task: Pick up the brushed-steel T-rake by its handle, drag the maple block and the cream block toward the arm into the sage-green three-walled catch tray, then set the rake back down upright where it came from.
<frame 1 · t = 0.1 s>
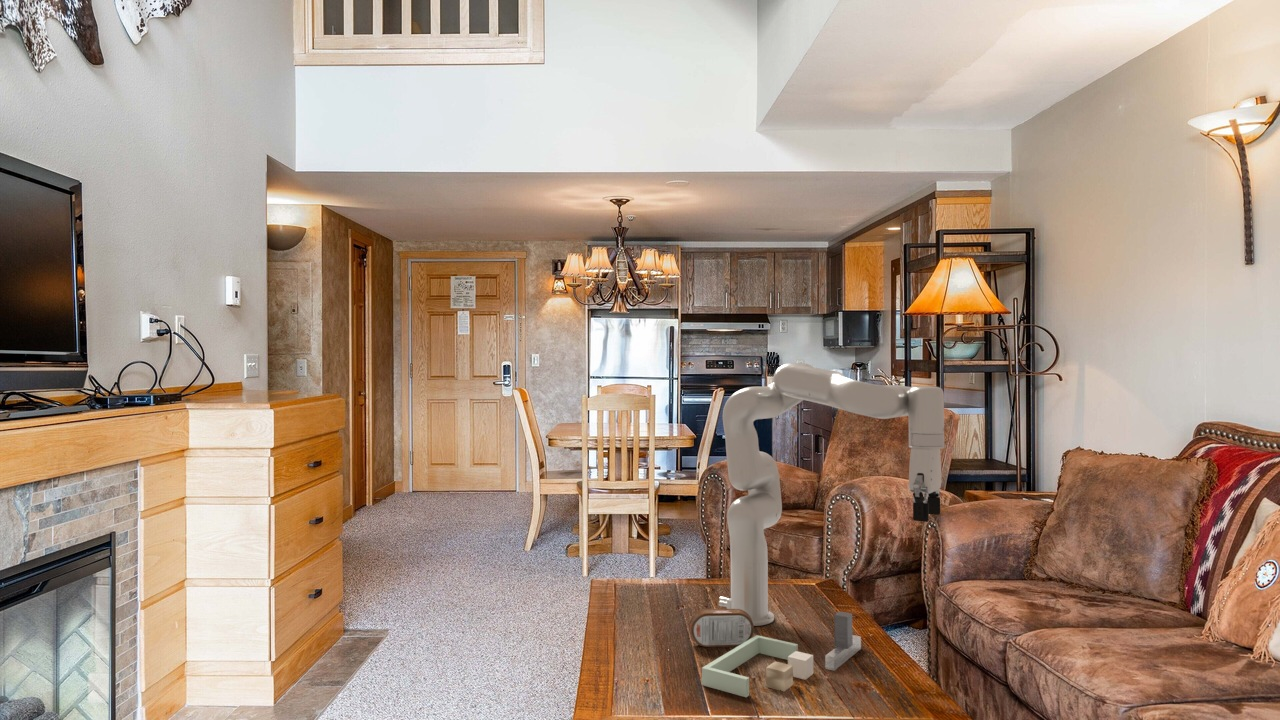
hand: (927, 517, 173), 31 cm above the table, fingers open, 9 cm apart
tin: (721, 646, 180), on the table
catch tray: (755, 673, 164), on the table
rake: (843, 659, 172), on the table
maple block: (779, 686, 157), on the table
cream block: (800, 674, 163), on the table
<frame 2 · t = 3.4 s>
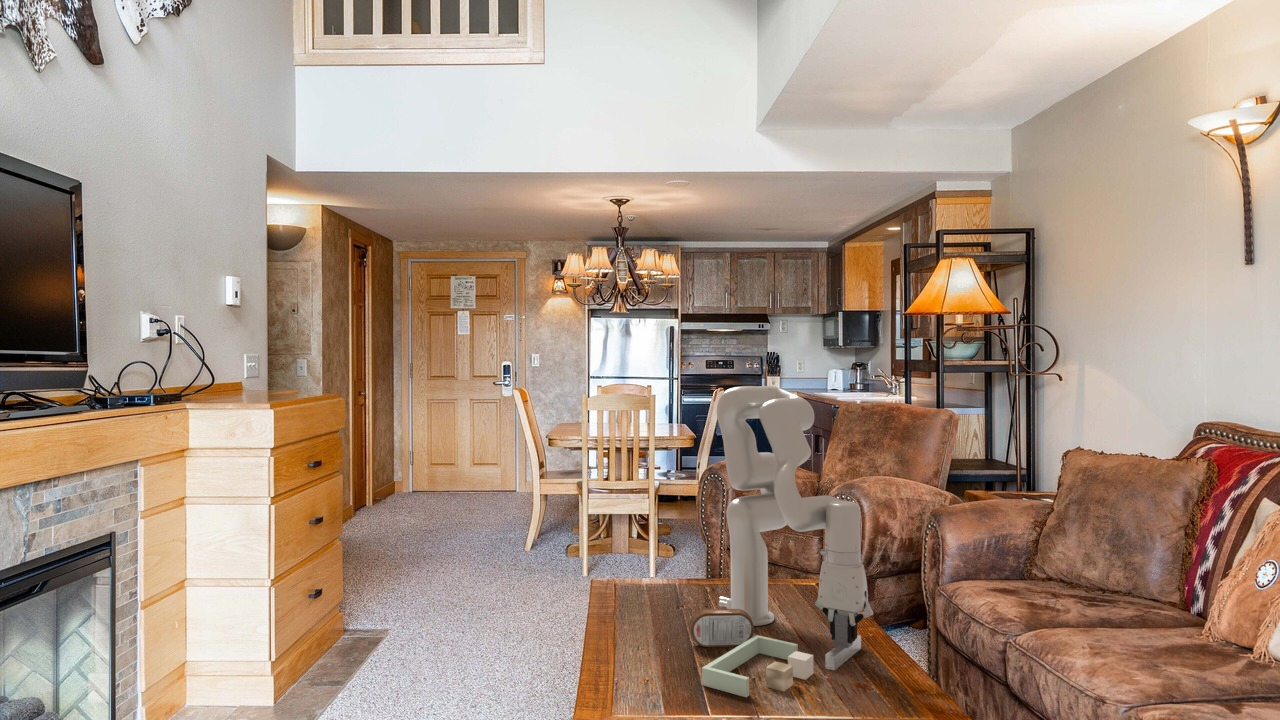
hand: (843, 639, 172), 4 cm above the table, fingers closed on rake, 3 cm apart
rake: (843, 658, 172), on the table, touching gripper
everything else where it was.
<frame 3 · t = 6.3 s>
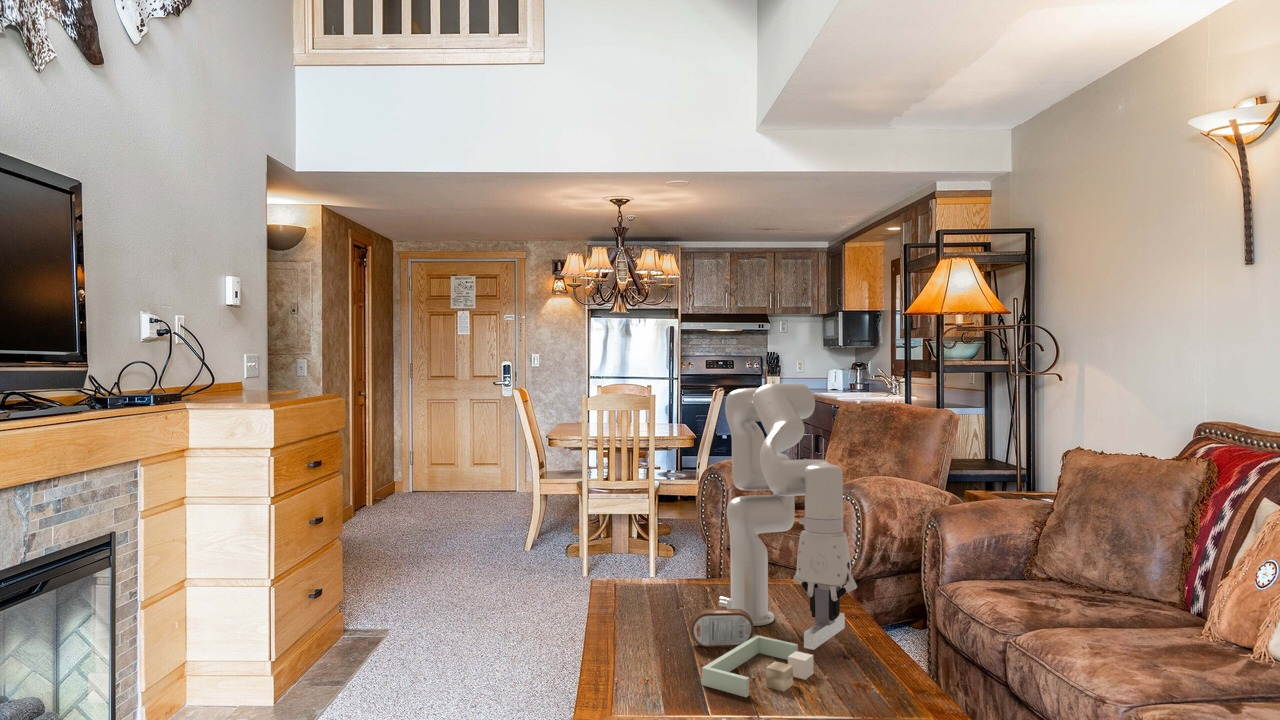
hand: (824, 616, 156), 15 cm above the table, fingers closed on rake, 3 cm apart
rake: (825, 637, 156), point 10 cm above the table, touching gripper
everything else where it was.
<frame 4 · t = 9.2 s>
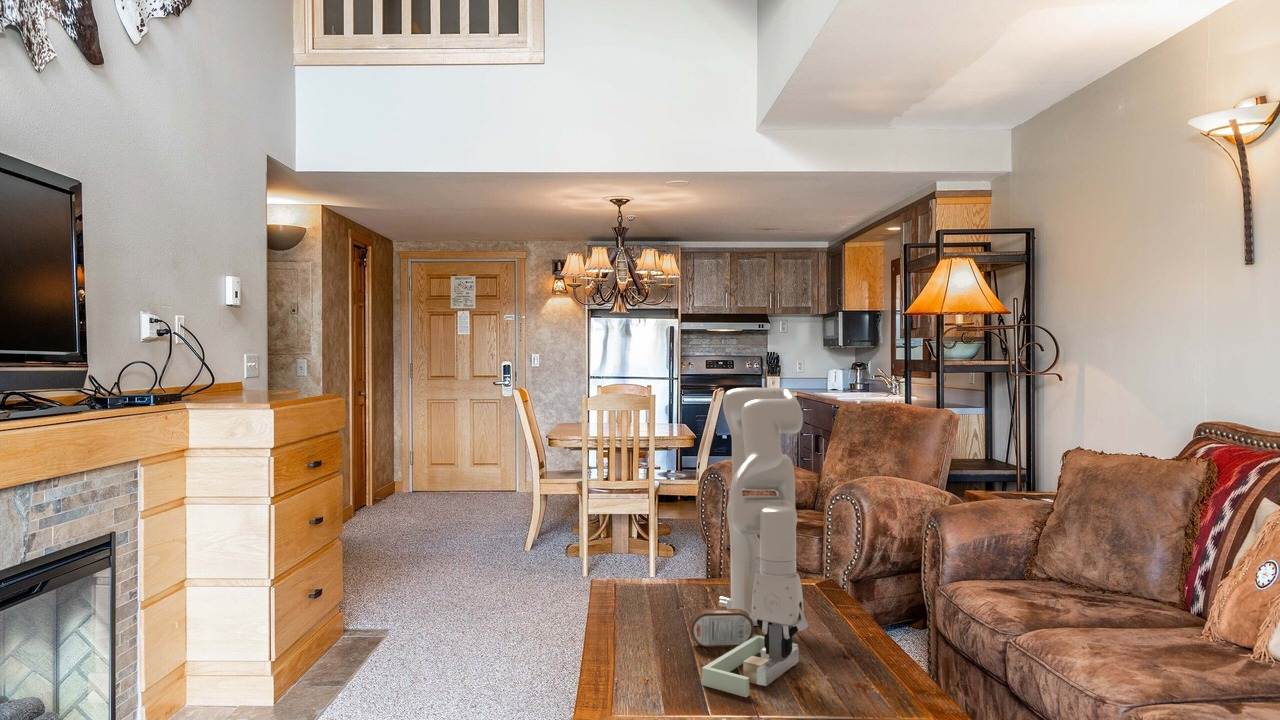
hand: (778, 653, 162), 5 cm above the table, fingers closed on rake, 3 cm apart
rake: (778, 672, 162), point 1 cm above the table, touching gripper, maple block
maple block: (756, 679, 160), on the table, touching rake
cream block: (773, 667, 167), on the table
everything else where it was.
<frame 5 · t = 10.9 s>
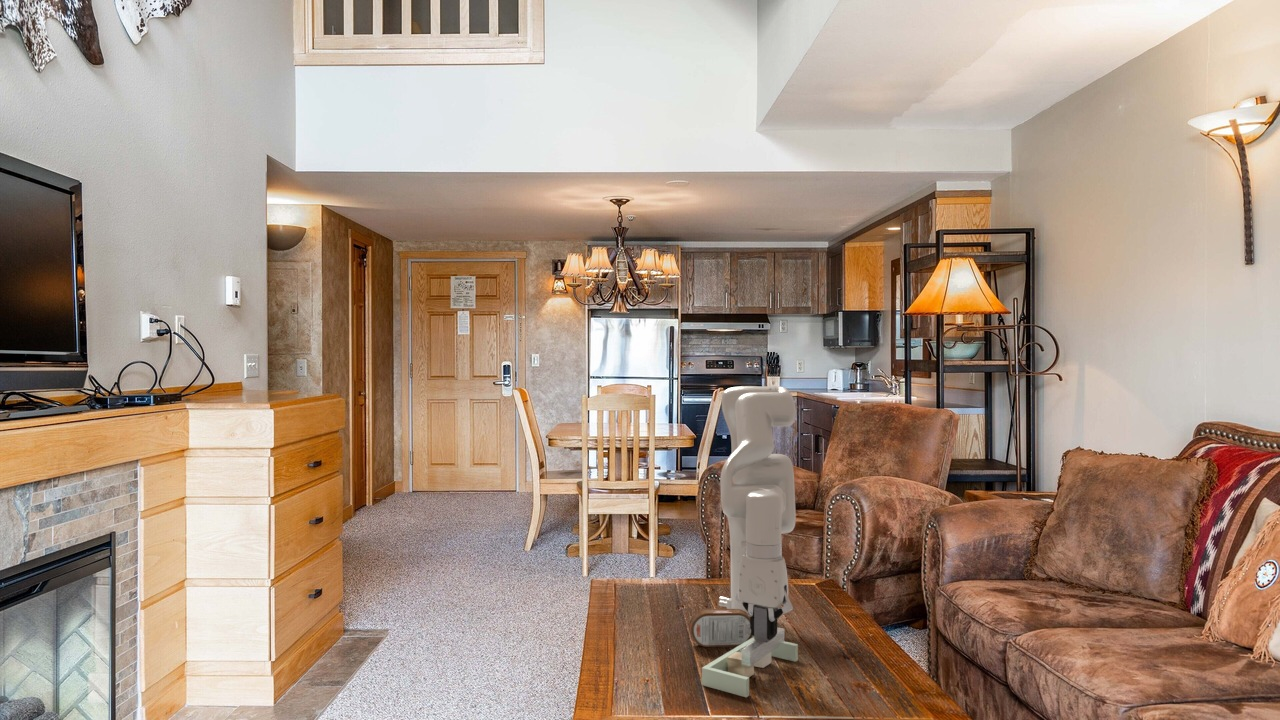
hand: (763, 634, 165), 8 cm above the table, fingers closed on rake, 3 cm apart
rake: (763, 652, 165), point 4 cm above the table, touching cream block, gripper
maple block: (741, 675, 162), on the table
cream block: (759, 663, 169), on the table, touching rake
everything else where it was.
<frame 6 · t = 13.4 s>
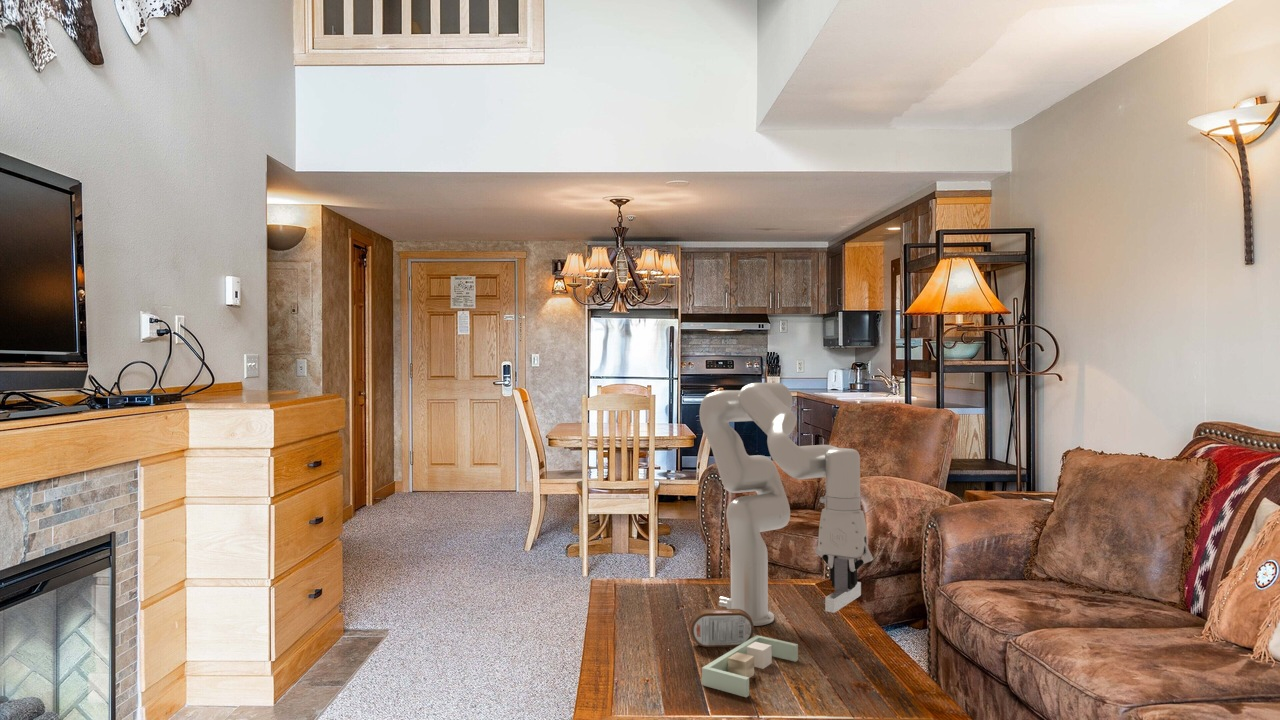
hand: (843, 585, 172), 16 cm above the table, fingers closed on rake, 3 cm apart
rake: (843, 603, 172), point 12 cm above the table, touching gripper
cream block: (759, 664, 169), on the table
everything else where it was.
when the fingers open (5 cm above the table, at t = 15.5 s): rake drops 1 cm, on the table.
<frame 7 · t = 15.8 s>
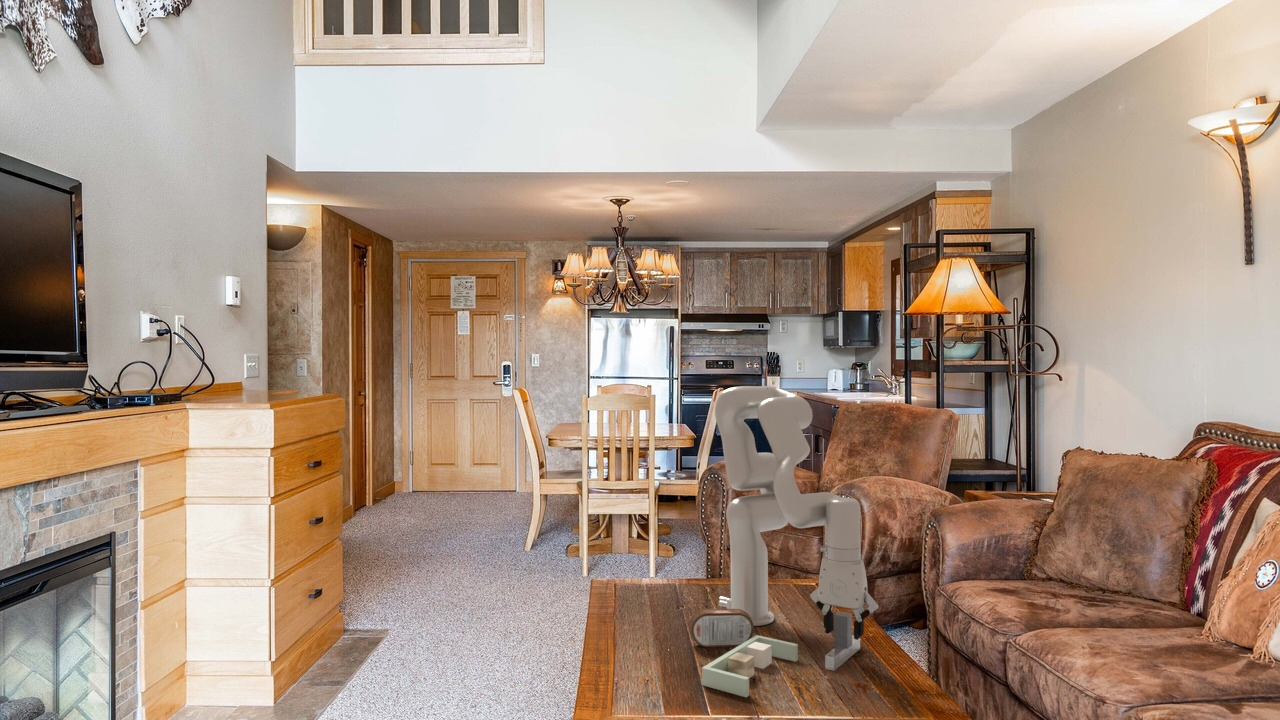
hand: (843, 634, 172), 5 cm above the table, fingers open, 6 cm apart
rake: (843, 659, 172), on the table
everything else where it was.
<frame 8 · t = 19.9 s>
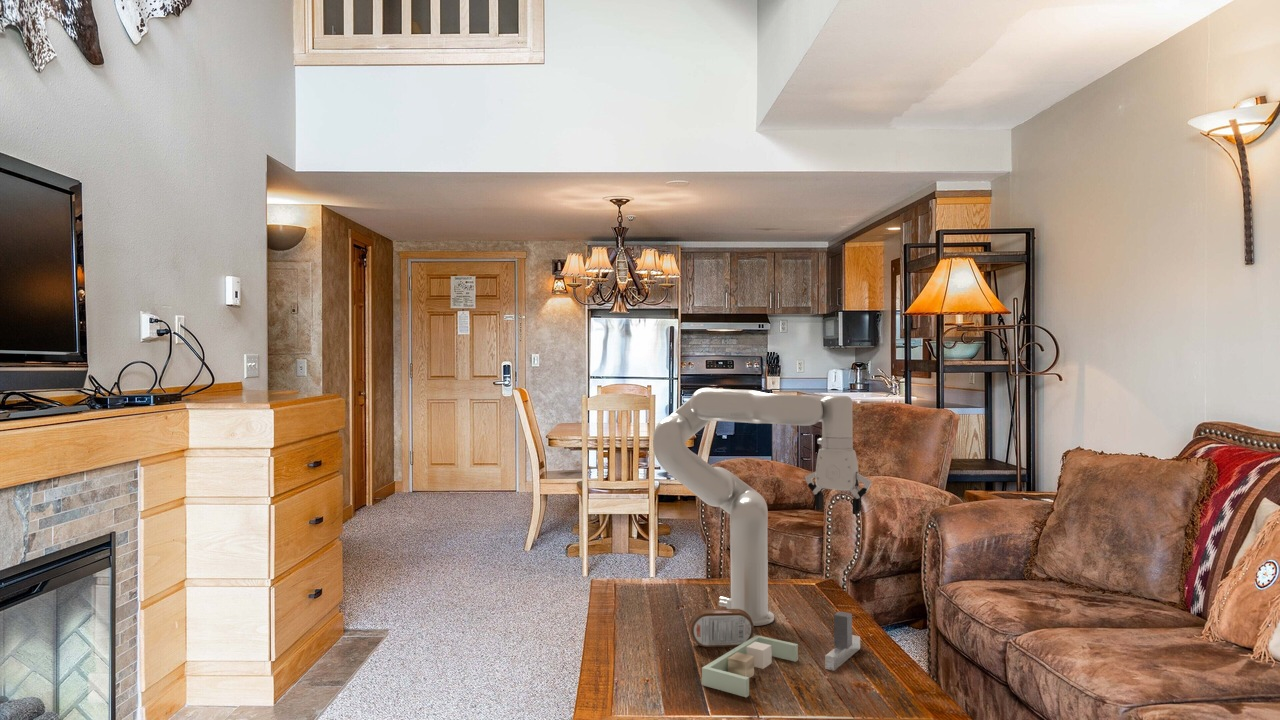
hand: (837, 511, 196), 28 cm above the table, fingers open, 9 cm apart
nothing on the table moved.
at the end: maple block inside the target area (3.4 cm from its centre), on the table; cream block inside the target area (5.3 cm from its centre), on the table; rake tilted 0° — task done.
